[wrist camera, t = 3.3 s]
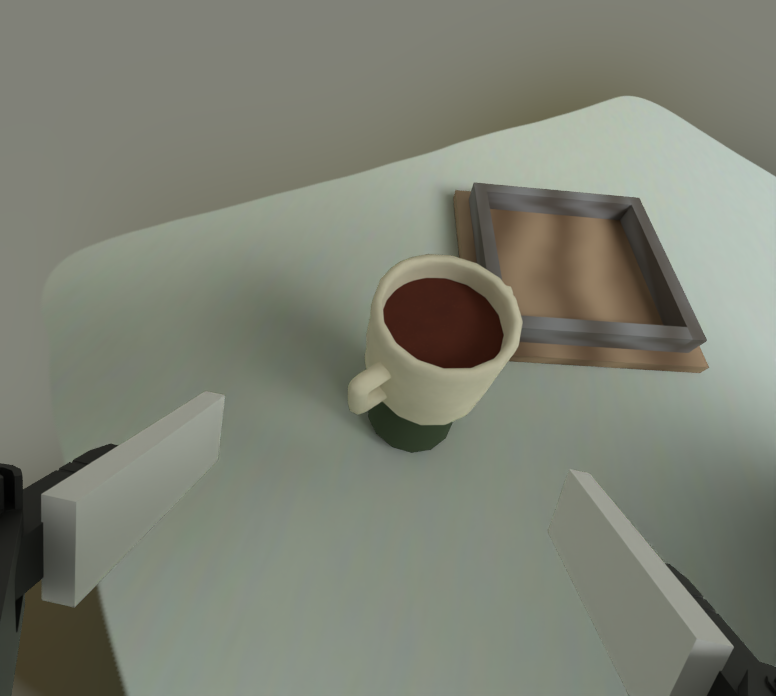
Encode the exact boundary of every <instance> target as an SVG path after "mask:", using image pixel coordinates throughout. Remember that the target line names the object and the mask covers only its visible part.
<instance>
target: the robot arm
mask: <svg viewBox="0 0 776 696" xmlns="http://www.w3.org/2000/svg"><path fill="white" fill-rule="evenodd" d="M224 402H225V395H223V394H218V393H213V392H209V391H204V392H203V393H201V394H200V395H198V396H196V397H195V398H193V399H192V400H190V401H189V402H187V403H185V404H184V405H182V406H181V407H179V408H177V409H176V410H174V411H173V412H171V413H169V414H168V415H166V416H165V417H163V418H162V419H160V420H158V421H157V422H155V423H154V424H152V425H150V426H149V427H147V428H146V429H144V430H142V431H141V432H139V433H138V434H136V435H134V436H133V437H131V438H130V439H128V440H127V441H125V442H123V443H122V444H120V445H119V446H118V445H114V444H108V445H105V446H102V447H99V448H96V449H93V450H90V451H88V452H86V453H85V454H83V455H81V456H79V457H78V458H76V459H74V460H73V462H72V463H71V462H69V463H68V464H66V465H64V466H62V467H61V468H59V470H58V471H54V472H52V473H51V474H49V475H47V476H45V477H44V478H42V479H40V480H39V481H37V482H35V483H34V484H32V485H30V486H29V487H27V488H25V489H23V486H22V485H23V480H22V472H21V469H19V468H17V467H15V466H13V465H7V464H0V696H11V694H12V688H13V681H14V674H15V667H16V661H17V654H18V648H19V641H20V634H21V627H22V620H23V614H24V607H25V593H26V592H27V591H28V590H29V589H30V588H31V587H33V586H34V585H35V584H36V583H37V582H39V581H40V580H41V579H42V600H44V601H48V602H53V603H57V604H62V605H66V606H71V607H75V606H76V605H77V604H78V603H79V602H80V601H81V600H82V599H83V598H84V597H85V596H86V595H87V594H88V593H89V592H90V591H91V590H92V589H93V588H94V587H95V586H96V585H97V584H98V583H99V582H100V581H101V580H102V579H103V578H104V577H105V576H106V575H107V574H108V573H109V572H110V571H111V570H112V568H113V567H114V566H115V565H116V564H117V563H118V562H119V561H120V560H121V559H122V558H123V557H124V556H125V555H126V554H127V553H128V552H129V551H130V550H131V549H132V548H133V547H134V546H135V545H136V544H137V543H138V542H139V541H140V540H141V539H142V538H143V537H144V536H145V535H146V534H147V533H148V532H149V531H150V530H151V528H152V527H153V526H154V525H155V524H156V523H157V522H158V521H159V520H160V519H161V518H162V517H163V516H164V515H165V514H166V513H167V512H168V511H169V510H170V509H171V508H172V507H173V506H174V505H175V504H176V503H177V502H178V501H179V500H180V499H181V498H182V497H183V496H184V495H185V494H186V493H187V492H188V491H189V489H190V488H191V487H192V486H193V485H194V484H195V483H196V482H197V481H198V480H199V479H200V478H201V477H202V476H203V475H204V474H205V473H206V472H207V471H208V470H209V469H210V468H211V467H212V466H213V465H214V464H215V463H216V462H217V461H218V456H219V447H220V438H221V429H222V420H223V411H224ZM548 534H549V536H550V538H551V540H552V542H553V544H554V546H555V548H556V550H557V552H558V554H559V556H560V558H561V560H562V562H563V564H564V566H565V568H566V570H567V572H568V574H569V576H570V578H571V580H572V582H573V584H574V586H575V588H576V590H577V592H578V594H579V596H580V598H581V600H582V602H583V604H584V606H585V608H586V610H587V612H588V614H589V616H590V618H591V620H592V622H593V624H594V626H595V628H596V630H597V632H598V634H599V636H600V638H601V640H602V642H603V644H604V646H605V648H606V650H607V652H608V654H609V656H610V658H611V660H612V662H613V664H614V666H615V668H616V670H617V672H618V674H619V676H620V678H621V680H622V682H623V684H624V686H625V688H626V690H627V692H628V694H629V696H776V667H774V666H771V665H768V664H765V663H762V662H759V661H758V660H757V658H756V657H755V656H754V655H753V654H752V653H751V651H750V650H749V649H748V648H747V647H746V646H745V645H744V643H743V642H742V641H741V640H740V639H739V638H738V636H737V635H736V634H735V633H734V632H733V631H732V629H731V628H730V627H729V626H728V625H727V624H726V623H725V621H724V620H723V619H722V618H721V617H720V616H719V614H716V613H715V610H714V609H713V607H712V606H711V605H710V604H709V603H708V602H707V601H706V600H704V599H703V596H702V595H701V594H700V592H699V591H698V590H697V589H696V588H695V587H694V586H693V584H692V583H691V582H690V581H689V580H688V579H687V578H686V577H684V576H683V575H682V574H681V573H680V572H678V571H677V570H676V569H675V568H673V567H672V566H671V565H670V564H666V563H664V562H663V561H662V560H661V558H660V557H659V556H658V555H657V554H656V552H655V551H654V550H653V549H652V548H651V546H650V545H649V544H648V543H647V542H646V540H645V539H644V538H643V537H642V536H641V534H640V533H639V532H638V531H637V530H636V528H635V527H634V526H633V525H632V524H631V522H630V521H629V520H628V519H627V518H626V516H625V515H624V514H623V513H622V512H621V510H620V509H619V508H618V507H617V506H616V504H615V503H614V502H613V501H612V500H611V498H610V497H609V496H608V495H607V494H606V492H605V491H604V490H603V489H602V488H601V486H600V485H599V484H598V483H597V482H596V480H595V479H594V478H593V477H592V475H591V474H590V473H586V472H581V471H577V470H572V469H569V471H568V474H567V477H566V480H565V483H564V486H563V489H562V491H561V494H560V497H559V500H558V503H557V506H556V509H555V512H554V515H553V518H552V520H551V523H550V526H549V529H548Z"/></svg>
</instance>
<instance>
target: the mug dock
mask: <svg viewBox="0 0 776 696" xmlns="http://www.w3.org/2000/svg"><path fill="white" fill-rule="evenodd" d="M453 199H454V209H455V219H456V229H457V239H458V249H459V258H461V259H465V260H468V261H471V262H474V263H477V264H479V265H480V266H482V267H483V268H485V269H487V270H488V271H490V272H491V273H493V274H494V275H496V276H497V277H499V278H500V279H501V280H502V281H503V283H504V284H505V285H506V286H510V287H511V288H512V291H513V295H514V297H515V298H516V300H517V304H518V307H519V311H520V314H521V318H522V321H523V324H522V329H521V335H520V341H519V346H518V348H517V349H516V351H515V353H514V354H513V355H512V357H511V358H510V359H509V361H515V362H531V363H547V364H563V365H579V366H596V367H612V368H628V369H644V370H660V371H676V372H692V373H701V372H702V371H704V370H706V369H707V368H709V366H708V364H707V362H706V360H705V358H704V355H703V353H702V351H701V349H700V347H699V346H700V345H701V344H703V343H704V342H706V341H707V339H706V337H705V335H704V333H703V331H702V329H701V327H700V325H699V323H698V320H697V318H696V316H695V314H694V312H693V310H692V308H691V306H690V304H689V302H688V299H687V297H686V295H685V293H684V291H683V289H682V287H681V285H680V283H679V281H678V278H677V276H676V274H675V272H674V270H673V268H672V266H671V264H670V262H669V260H668V257H667V255H666V253H665V251H664V249H663V247H662V245H661V243H660V241H659V239H658V236H657V234H656V232H655V230H654V228H653V226H652V224H651V222H650V220H649V217H648V215H647V213H646V211H645V209H644V207H643V205H642V203H641V201H640V199H639V198H634V197H624V196H613V195H602V194H591V193H580V192H570V191H559V190H548V189H537V188H527V187H516V186H505V185H494V184H483V183H474V184H473V187H472V190H471V192H470V191H459V190H456V191H455V194H454V198H453Z"/></svg>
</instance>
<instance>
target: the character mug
mask: <svg viewBox="0 0 776 696" xmlns="http://www.w3.org/2000/svg"><path fill="white" fill-rule="evenodd" d="M522 324H523V321H522V318H521V314H520V311H519V307H518V304H517V300H516V298H515V297H514V295H513V291H512V288H511V287H510V286H506V285H505V284H504V283H503V281H502V280H501V279H500V278H499V277H497V276H496V275H494V274H493V273H491V272H490V271H488V270H487V269H485V268H483V267H482V266H480V265H479V264H477V263H474V262H471V261H468V260H465V259H461V258H458V257H455V256H452V255H434V254H426V255H421V256H416V257H411V258H408V259H406V260H403V261H401V262H399V263H398V264H396V265H395V266H393V267H392V268H391V269H390V270H389V271H388V272H387V273H386V274H385V275H384V276H383V277H382V278H381V279H380V282H379V285H378V287H377V290H376V292H375V295H374V298H373V301H372V304H371V313H370V319H369V324H368V329H367V334H366V352H365V365H366V370H364V371H363V372H361V373H359V374H358V375H357V376H355V377H354V378H353V379H352V380H351V381H350V383H349V385H348V405H349V410H350V411H351V412H353V413H355V414H357V415H359V414H362V413H364V412H366V411H368V410H369V414H368V417H369V419H370V421H371V423H372V425H373V427H374V430H375V432H376V434H378V435H379V436H380V437H381V438H382V439H384V440H385V441H386V442H387V443H388V444H389V445H391V446H392V447H395V448H398V449H401V450H405V451H408V452H411V453H412V452H418V451H424V450H430V449H432V448H433V447H435V446H436V445H437V444H438V443H440V442H441V441H442V440H444V439H445V438H446V436H447V434H448V431H449V429H450V427H451V425H452V422H453V421H455V420H457V419H460V418H462V417H464V416H466V415H467V414H468V413H469V412H470V411H471V410H472V408H473V407H474V406H475V405H476V404H477V402H478V401H479V400H480V399H481V398H482V396H483V395H484V394H485V392H486V391H487V390H488V388H489V387H490V385H491V384H492V383H493V381H494V380H495V379H496V377H497V376H498V375H499V373H500V372H501V370H502V369H503V368H504V366H505V365H506V364H507V362H508V361H509V359H510V358H511V357H512V355H513V354H514V353H515V351H516V349H517V348H518V346H519V341H520V335H521V329H522Z"/></svg>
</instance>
